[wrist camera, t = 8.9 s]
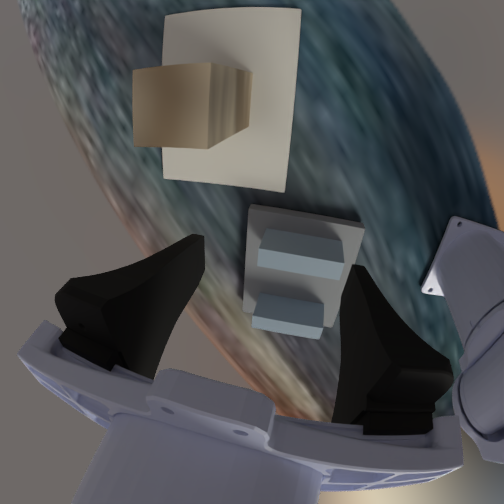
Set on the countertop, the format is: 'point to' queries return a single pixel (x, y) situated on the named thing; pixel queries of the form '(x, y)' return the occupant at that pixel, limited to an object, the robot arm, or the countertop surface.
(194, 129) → the peg
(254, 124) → the mat
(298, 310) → the vise
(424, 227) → the countertop surface
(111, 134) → the countertop surface
